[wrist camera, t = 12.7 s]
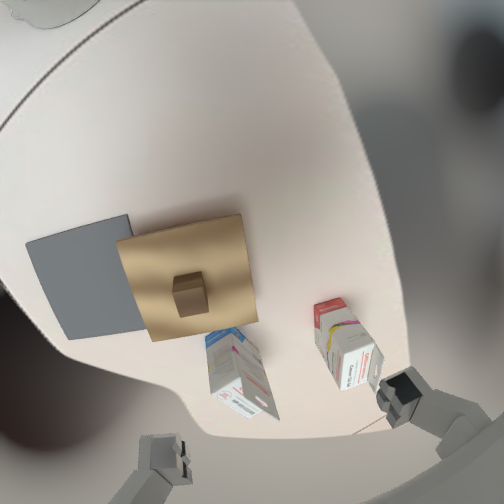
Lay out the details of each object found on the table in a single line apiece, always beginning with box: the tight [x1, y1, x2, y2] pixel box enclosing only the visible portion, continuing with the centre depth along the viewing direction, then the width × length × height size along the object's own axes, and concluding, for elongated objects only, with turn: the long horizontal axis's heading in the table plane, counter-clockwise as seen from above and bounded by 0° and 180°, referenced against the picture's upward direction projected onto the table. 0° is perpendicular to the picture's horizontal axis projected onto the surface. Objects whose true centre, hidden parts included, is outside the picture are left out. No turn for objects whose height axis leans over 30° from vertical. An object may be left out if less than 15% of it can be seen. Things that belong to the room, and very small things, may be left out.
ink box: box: [205, 327, 280, 421], centre depth 38 cm, size 8×5×15 cm, turn 35°
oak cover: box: [115, 214, 258, 342], centre depth 31 cm, size 14×14×4 cm
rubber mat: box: [25, 215, 147, 340], centre depth 36 cm, size 17×17×1 cm
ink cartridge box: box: [314, 298, 385, 394], centre depth 39 cm, size 9×5×15 cm, turn 9°
